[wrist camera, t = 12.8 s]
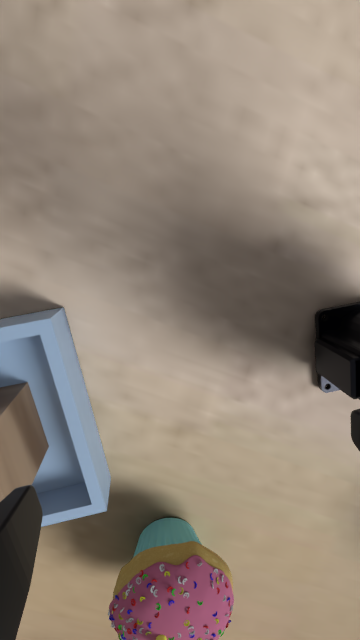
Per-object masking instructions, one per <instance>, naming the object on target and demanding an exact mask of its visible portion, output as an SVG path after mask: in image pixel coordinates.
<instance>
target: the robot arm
mask: <svg viewBox="0 0 360 640" xmlns="http://www.w3.org/2000/svg"><path fill="white" fill-rule="evenodd" d="M324 314H325V318H324V319H322V316H323V315H324ZM315 323H316V341H315V357H316V372H317V373H318V383H319V388H320V389H321V390H322V391H323V392H325V393H328V392H333V391H337V390H342V391H343V392H344V393H346V394H347V395H348V396H350V397H351V398H352V399H360V302H356V303H351V304H346V305H341V306H336V307H332V308H327V309H322V310H319V311H318V312H317V313H316V316H315ZM326 384H328V385H327V387H325V385H326ZM351 437H352V440H353V442H354V444H355V445H356V447H357V448H358V450H359V451H360V409H357V410H354V411H352V413H351ZM42 518H43V511H42V507H41V504H40V501H39V499H38V496H37V493H36V490H35V488H34V487H33V486H32V485H26V486H22V487H18V488H15V489H14V490H13V491H12V492H11V493H10V494H8V495H7V496H6V497H5V498H4V499H3V500H2V501H1V502H0V640H15V639H16V635H17V632H18V628H19V625H20V621H21V617H22V614H23V610H24V607H25V603H26V599H27V595H28V592H29V588H30V583H31V579H32V574H33V568H34V563H35V557H36V551H37V546H38V540H39V535H40V529H41V524H42Z"/></svg>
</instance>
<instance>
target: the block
mask: <svg viewBox="0 0 360 640" xmlns="http://www.w3.org/2000/svg"><path fill="white" fill-rule="evenodd" d="M48 448H49V445H48V442H47V439H46V436H45V433H44V430H43V427H42V423H41V420H40V417H39V414H38V411H37V408H36V405H35V402H34V399H33V396H32V393H31V390H30V387H29V384H28V382H25V383H20V384H15V385H10V386H5V387H0V502H1V501H2V500H3V499H4V498H5V497H6V496H7V495H8V494H10V493H11V492H12V491H13V490H14V489H15V488H18V487H22V486H26V485H32V483H33V481H34V479H35V476H36V474H37V472H38V470H39V468H40V465H41V463H42V461H43V459H44V456H45V454H46V452H47V450H48Z"/></svg>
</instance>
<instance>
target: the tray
mask: <svg viewBox="0 0 360 640" xmlns="http://www.w3.org/2000/svg"><path fill="white" fill-rule="evenodd" d="M25 382H28V384H29V387H30V390H31V393H32V396H33V399H34V402H35V405H36V408H37V411H38V414H39V417H40V420H41V423H42V427H43V430H44V433H45V436H46V439H47V442H48V445H49V448H48V450H47V452H46V454H45V456H44V459H43V461H42V463H41V465H40V468H39V470H38V472H37V474H36V476H35V479H34V481H33V483H32V486H33V487H34V488H35V490H36V493H37V496H38V499H39V501H40V504H41V507H42V511H43V518H42V524H41V527H43V526H47V525H51V524H55V523H59V522H64V521H68V520H72V519H76V518H80V517H84V516H88V515H93V514H97V513H101V512H105V511H107V505H108V497H109V490H110V482H111V476H110V472H109V469H108V465H107V462H106V458H105V454H104V451H103V447H102V443H101V440H100V436H99V433H98V429H97V425H96V422H95V418H94V415H93V411H92V407H91V404H90V400H89V397H88V393H87V389H86V386H85V382H84V379H83V375H82V371H81V368H80V364H79V360H78V357H77V353H76V350H75V346H74V342H73V339H72V335H71V332H70V328H69V324H68V321H67V317H66V314H65V310H64V307H62V308H57V309H51V310H46V311H41V312H35V313H30V314H25V315H19V316H14V317H9V318H3V319H0V387H5V386H10V385H15V384H20V383H25Z"/></svg>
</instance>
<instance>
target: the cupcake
mask: <svg viewBox="0 0 360 640" xmlns="http://www.w3.org/2000/svg"><path fill="white" fill-rule="evenodd" d="M233 603H234V597H233V582H232V576H231V572H230V570H229V568H228V566H227V564H226V563H225V562H224V561H223V560H222V559H221V558H220V557H219V556H218V555H217V554H215V553H214V552H212V551H211V550H209V549H208V548H206V547H204V546H203V545H202V544H201V543H200V541H199V539H198V537H197V536H196V534H195V532H194V530H193V528H192V527H191V525H190V524H188V523H187V522H186V521H184V520H181V519H178V518H163V519H159V520H156V521H154V522H152V523H151V524H149V525H148V526H147V527H146V528H145V529H144V530H143V532H142V533H141V535H140V537H139V540H138V544H137V547H136V550H135V553H134V556H133V558H132V560H131V561H130V562H129V563H127V564H126V565H125V566H124V567H123V568H122V569H121V571H120V573H119V575H118V579H117V582H116V586H115V588H114V592H113V600H112V602H111V603H110V605H109V613H108V615H110V616H109V619H110V620H111V621H112V625H111V626H112V628H113V627H114V629H115V630H116V631H117V633H118V635H119V639H120V640H218V638H219V637H221V636H222V635H223V633H224V630H225V628H227V627H228V623H230V622H231V620H229V618H230V615H231V612H232V610H233ZM226 625H227V626H226Z"/></svg>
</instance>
